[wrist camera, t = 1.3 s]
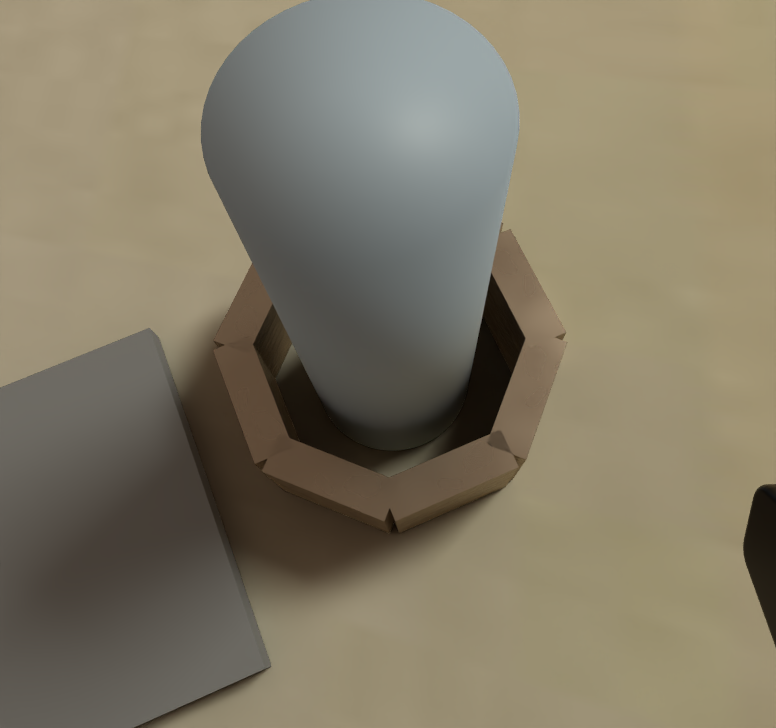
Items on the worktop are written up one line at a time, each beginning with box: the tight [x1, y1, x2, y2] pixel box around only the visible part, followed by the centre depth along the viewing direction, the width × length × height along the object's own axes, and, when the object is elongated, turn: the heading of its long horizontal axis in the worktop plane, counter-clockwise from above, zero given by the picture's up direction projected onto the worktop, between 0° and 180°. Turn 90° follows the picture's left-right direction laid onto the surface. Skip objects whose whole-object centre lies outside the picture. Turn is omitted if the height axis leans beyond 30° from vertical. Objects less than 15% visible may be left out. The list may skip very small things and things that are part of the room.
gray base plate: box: [0, 328, 271, 728], centre depth 20 cm, size 10×10×1 cm
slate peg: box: [201, 0, 519, 451], centre depth 16 cm, size 4×4×12 cm
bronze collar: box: [213, 223, 567, 534], centre depth 20 cm, size 8×8×3 cm
